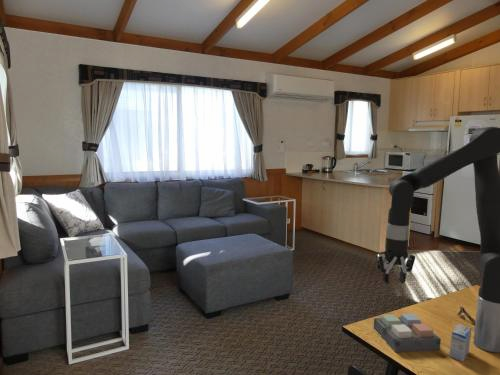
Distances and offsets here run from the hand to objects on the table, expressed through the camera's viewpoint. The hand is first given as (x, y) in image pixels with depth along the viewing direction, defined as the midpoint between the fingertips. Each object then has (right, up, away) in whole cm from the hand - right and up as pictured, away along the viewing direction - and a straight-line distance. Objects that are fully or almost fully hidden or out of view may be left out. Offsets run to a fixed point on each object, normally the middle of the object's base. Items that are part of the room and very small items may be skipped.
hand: (393, 282), depth 138 cm
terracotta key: (+8, -17, -4) cm, 19 cm away
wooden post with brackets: (+34, -19, +15) cm, 42 cm away
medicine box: (+18, -22, -10) cm, 30 cm away
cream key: (+1, -17, -5) cm, 17 cm away
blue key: (+7, -16, +3) cm, 17 cm away
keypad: (+4, -20, -1) cm, 20 cm away
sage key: (0, -16, +2) cm, 16 cm away
